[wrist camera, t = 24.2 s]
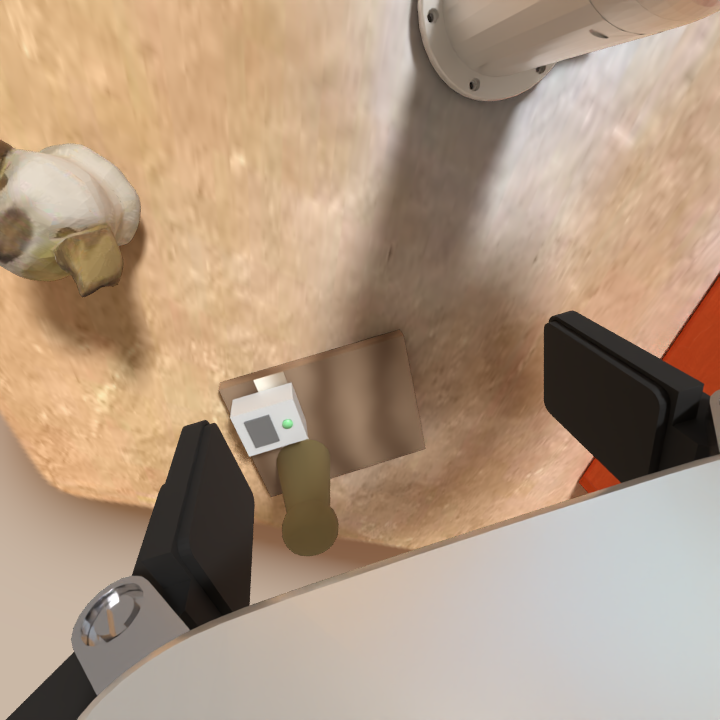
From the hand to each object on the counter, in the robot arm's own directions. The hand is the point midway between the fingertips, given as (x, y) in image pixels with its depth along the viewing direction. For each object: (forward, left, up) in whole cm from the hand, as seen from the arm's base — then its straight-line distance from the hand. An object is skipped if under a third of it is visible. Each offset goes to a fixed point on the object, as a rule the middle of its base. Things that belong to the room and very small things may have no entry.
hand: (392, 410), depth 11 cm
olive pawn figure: (+8, +24, -27) cm, 37 cm away
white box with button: (+9, +16, -26) cm, 32 cm away
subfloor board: (+4, +20, -28) cm, 35 cm away
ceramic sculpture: (+16, -6, -28) cm, 33 cm away
